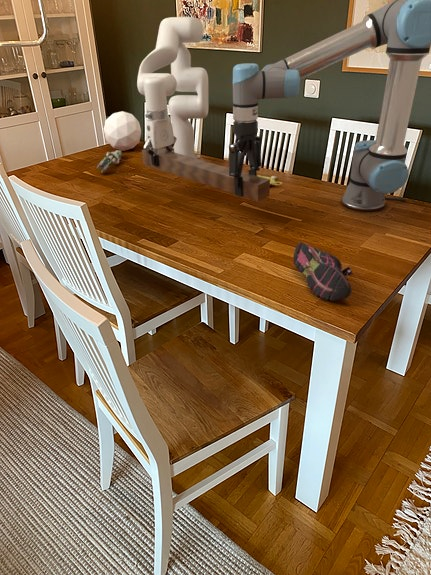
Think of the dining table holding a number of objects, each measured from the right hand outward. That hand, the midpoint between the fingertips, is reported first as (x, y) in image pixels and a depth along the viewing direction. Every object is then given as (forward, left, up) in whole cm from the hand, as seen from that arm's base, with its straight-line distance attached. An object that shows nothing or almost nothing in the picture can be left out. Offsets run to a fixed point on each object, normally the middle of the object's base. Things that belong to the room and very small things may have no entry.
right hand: (245, 192), depth 148 cm
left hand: (+20, -36, +2) cm, 42 cm away
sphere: (+26, -113, -11) cm, 116 cm away
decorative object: (-19, -35, -11) cm, 41 cm away
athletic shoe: (-6, +44, -11) cm, 46 cm away
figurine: (+36, -87, -11) cm, 95 cm away
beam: (+10, -18, 0) cm, 21 cm away
